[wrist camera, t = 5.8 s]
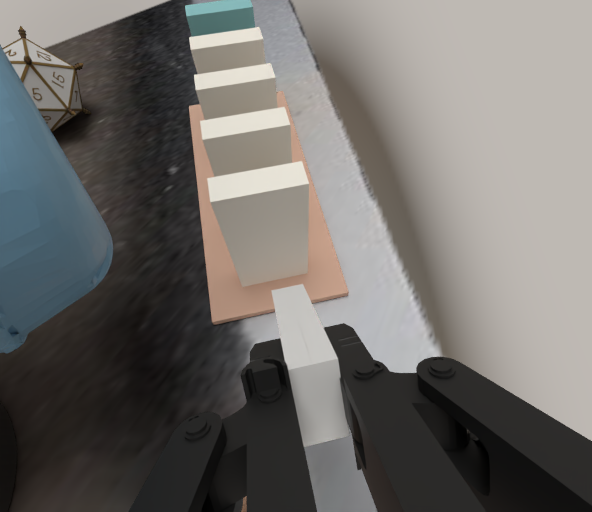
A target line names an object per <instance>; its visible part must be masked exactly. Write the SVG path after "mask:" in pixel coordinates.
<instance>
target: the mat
mask: <svg viewBox="0 0 592 512" xmlns="http://www.w3.org/2000/svg"><path fill="white" fill-rule="evenodd" d="M276 93H277V106H278V108H280V107H285V109H286V112H287V116H288V119H289V122H290V127H291V149H292V163H294V162H299V161H302V163H303V166H304V169H305V172H306V175H307V179H308V182H309V226H308V273H306V274H302V275H297V276H292V277H288V278H283V279H278V280H273V281H269V282H264V283H259V284H254V285H250V286H245V287H242V285H241V282H240V280H239V277H238V274H237V272H236V269H235V266H234V264H233V261H232V258H231V256H230V253H229V251H228V248H227V245H226V243H225V240H224V237H223V235H222V232H221V229H220V227H219V224H218V221H217V219H216V216H215V213H214V211H213V208H212V205H211V203H210V196H209V188H208V181H207V178H211V177H214V174H213V171H212V168H211V165H210V161H209V158H208V155H207V152H206V149H205V146H204V143H203V140H202V133H201V125H200V121H202V120H205V119H204V115H203V112H202V109H201V105H200V104H199V105H193V106H189V112H190V121H191V130H192V140H193V149H194V158H195V168H196V177H197V186H198V195H199V205H200V214H201V223H202V233H203V242H204V251H205V261H206V270H207V279H208V288H209V298H210V307H211V316H212V323H213V324H214V325H216V324H220V323H225V322H230V321H234V320H239V319H243V318H248V317H252V316H257V315H261V314H266V313H271V312H275V307H274V302H273V297H272V291H271V290H276V289H281V288H286V287H290V286H295V285H300V284H303V285H304V288H305V290H306V292H307V294H308V296H309V298H310V300H311V302H312V303H316V302H321V301H325V300H330V299H334V298H339V297H343V296H348V293H349V292H348V289H347V286H346V283H345V280H344V277H343V274H342V271H341V268H340V264H339V261H338V258H337V255H336V252H335V249H334V246H333V243H332V240H331V237H330V234H329V231H328V228H327V225H326V222H325V219H324V216H323V212H322V209H321V206H320V203H319V200H318V197H317V194H316V191H315V188H314V185H313V182H312V179H311V176H310V173H309V170H308V167H307V163H306V160H305V157H304V154H303V151H302V148H301V145H300V142H299V139H298V136H297V133H296V130H295V127H294V124H293V121H292V118H291V115H290V111H289V108H288V105H287V102H286V99H285V96H284V93H283V91H279V92H276Z"/></svg>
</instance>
